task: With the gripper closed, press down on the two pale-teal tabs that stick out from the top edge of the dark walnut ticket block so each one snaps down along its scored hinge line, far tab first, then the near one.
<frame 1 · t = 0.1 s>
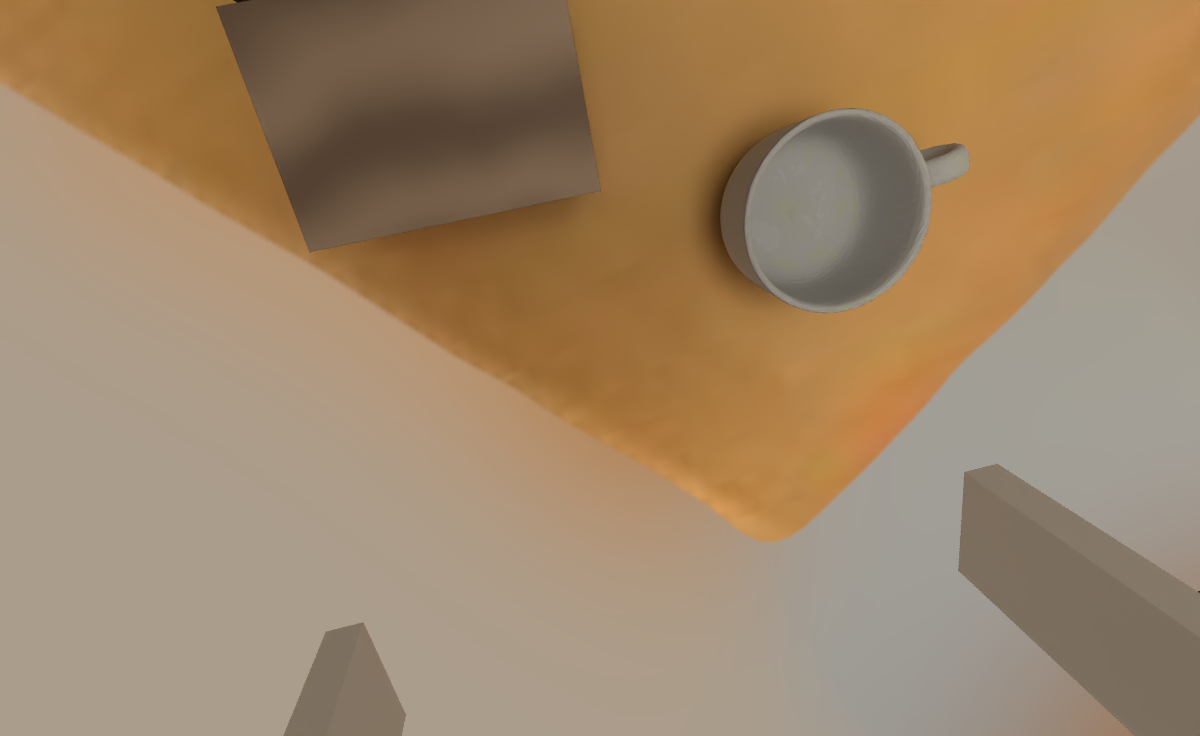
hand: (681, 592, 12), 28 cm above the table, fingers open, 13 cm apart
teacup: (800, 200, 38), on the table
ticket block: (449, 120, 33), on the table
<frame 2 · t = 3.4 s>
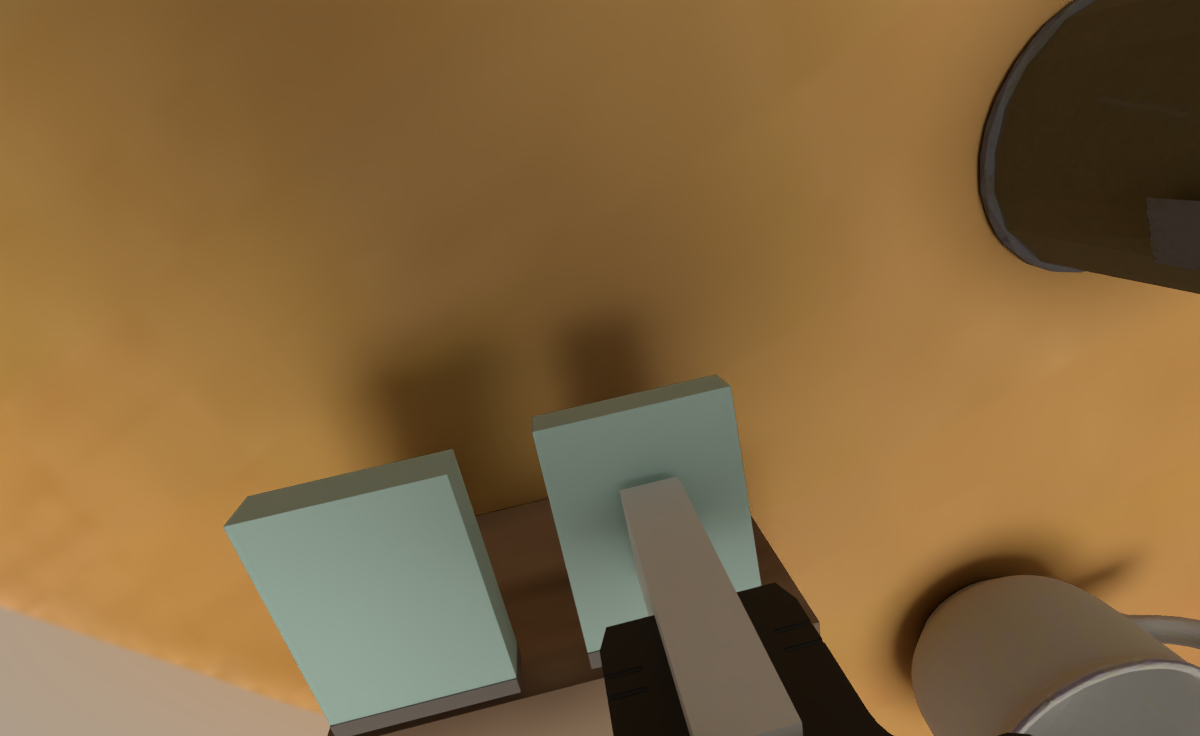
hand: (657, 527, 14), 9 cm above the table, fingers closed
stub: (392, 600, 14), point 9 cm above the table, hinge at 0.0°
teacup: (997, 613, 31), on the table
canister: (1093, 138, 22), on the table
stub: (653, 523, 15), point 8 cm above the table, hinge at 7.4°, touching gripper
ticket block: (580, 586, 26), on the table
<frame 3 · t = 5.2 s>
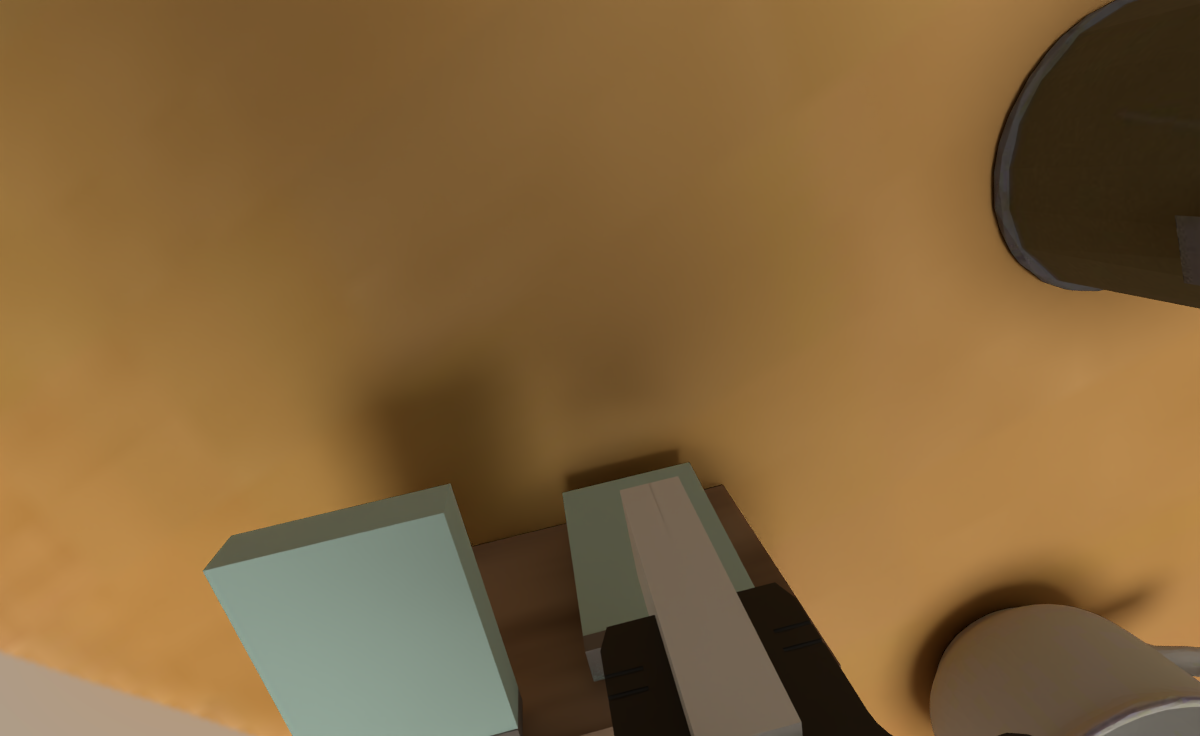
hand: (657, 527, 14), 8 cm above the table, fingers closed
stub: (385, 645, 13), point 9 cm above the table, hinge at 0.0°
teacup: (1017, 643, 29), on the table
canister: (1109, 154, 21), on the table
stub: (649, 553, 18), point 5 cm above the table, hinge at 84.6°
ticket block: (584, 618, 25), on the table
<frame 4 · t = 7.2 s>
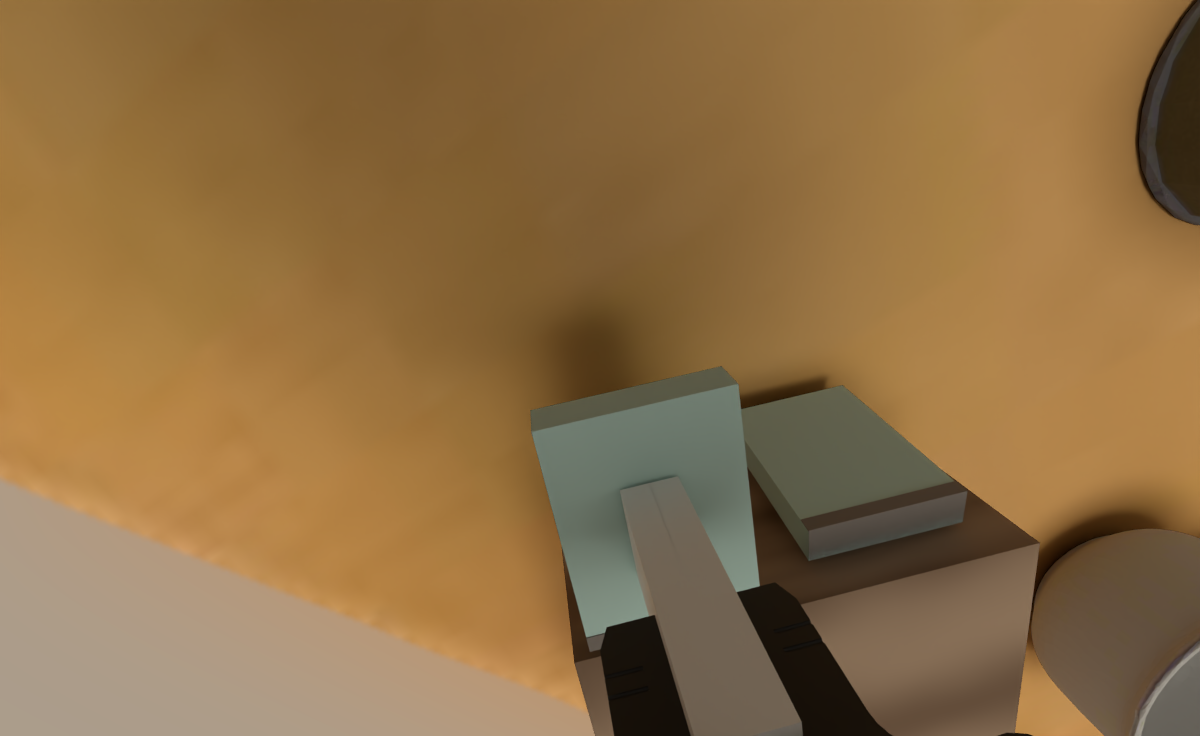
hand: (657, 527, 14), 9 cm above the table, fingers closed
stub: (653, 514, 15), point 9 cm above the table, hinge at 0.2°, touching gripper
teacup: (1109, 571, 31), on the table
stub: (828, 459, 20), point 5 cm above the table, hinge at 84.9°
ticket block: (722, 537, 26), on the table
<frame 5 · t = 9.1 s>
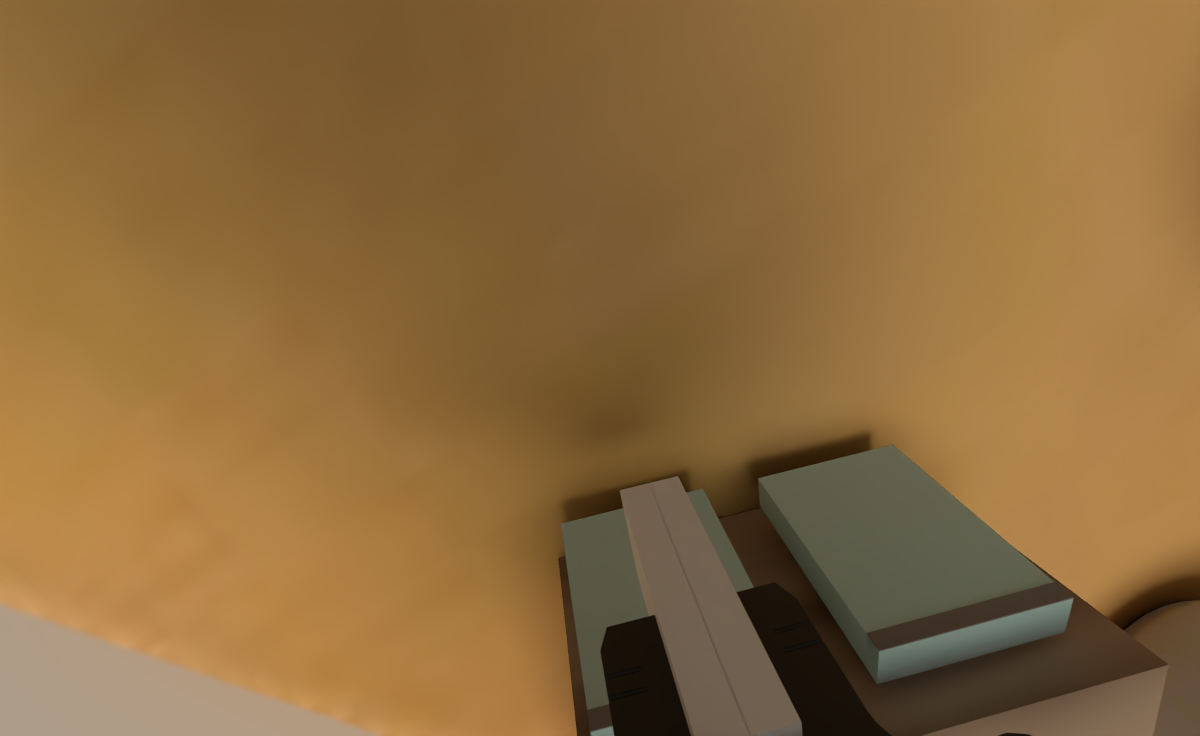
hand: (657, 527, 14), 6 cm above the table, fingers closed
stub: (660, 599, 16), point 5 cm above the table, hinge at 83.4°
teacup: (1180, 639, 28), on the table
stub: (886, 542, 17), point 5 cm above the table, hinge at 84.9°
ticket block: (751, 614, 23), on the table
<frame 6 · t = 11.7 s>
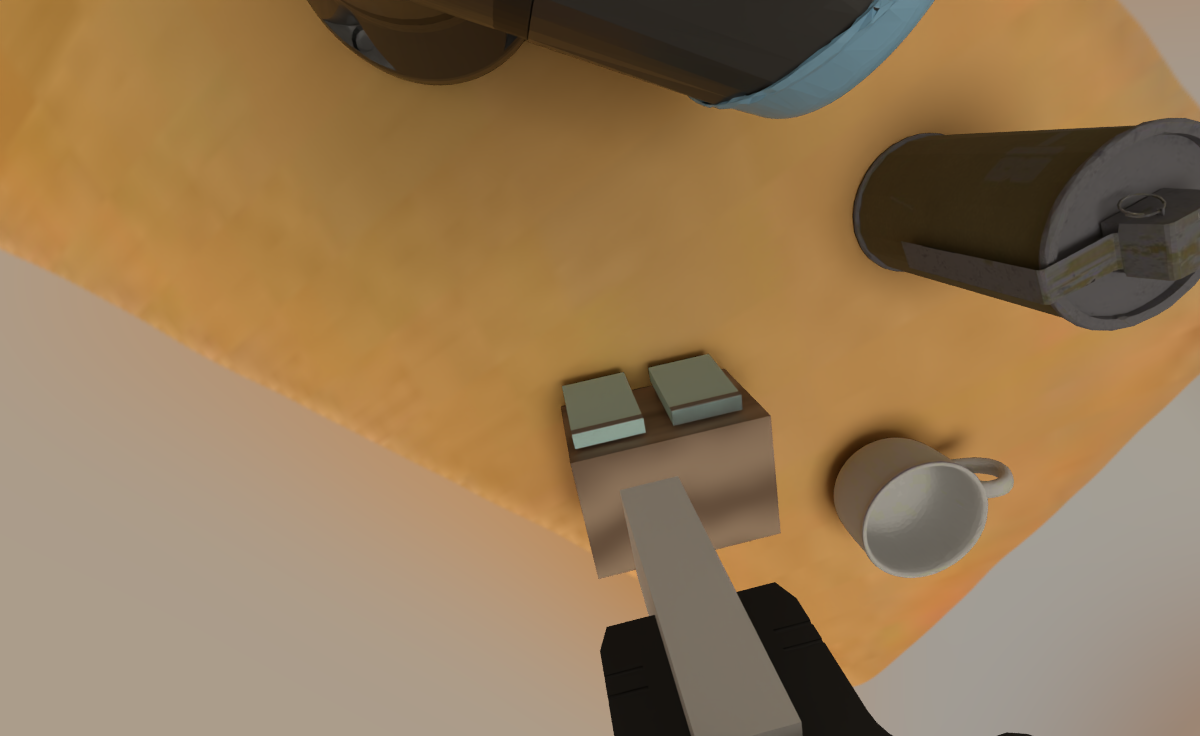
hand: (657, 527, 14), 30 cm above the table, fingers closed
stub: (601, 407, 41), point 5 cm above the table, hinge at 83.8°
teacup: (886, 468, 53), on the table
canister: (910, 206, 44), on the table
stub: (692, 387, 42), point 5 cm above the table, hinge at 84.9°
ticket block: (652, 439, 48), on the table
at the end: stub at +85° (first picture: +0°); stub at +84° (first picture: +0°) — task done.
